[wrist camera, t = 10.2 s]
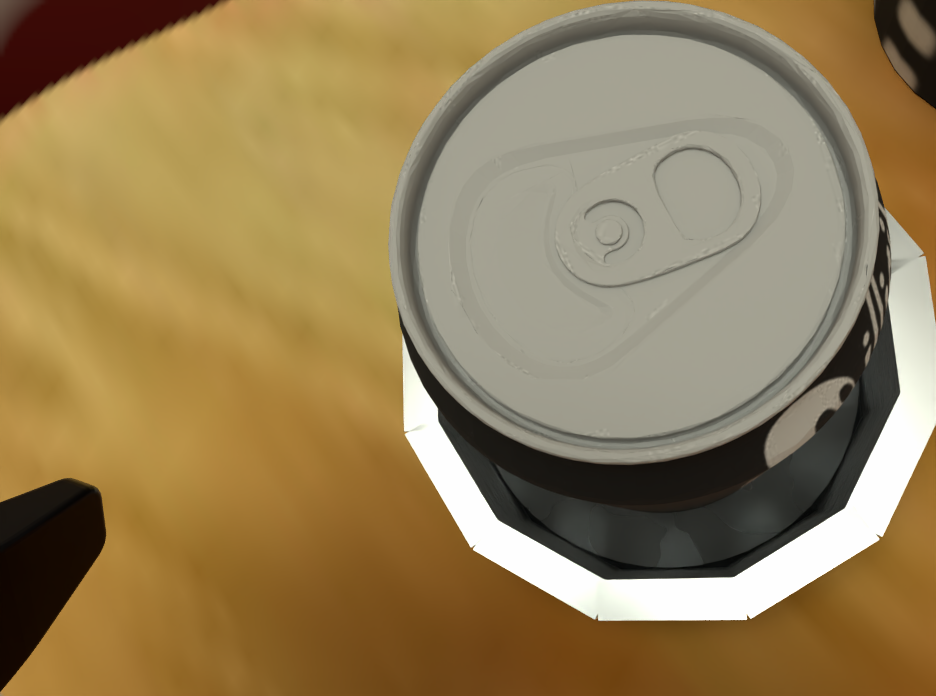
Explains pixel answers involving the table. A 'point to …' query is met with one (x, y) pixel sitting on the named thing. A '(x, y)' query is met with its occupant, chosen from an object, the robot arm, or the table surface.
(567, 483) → the beverage can
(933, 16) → the white-spotted black cylinder
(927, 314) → the can holder
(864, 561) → the table surface
